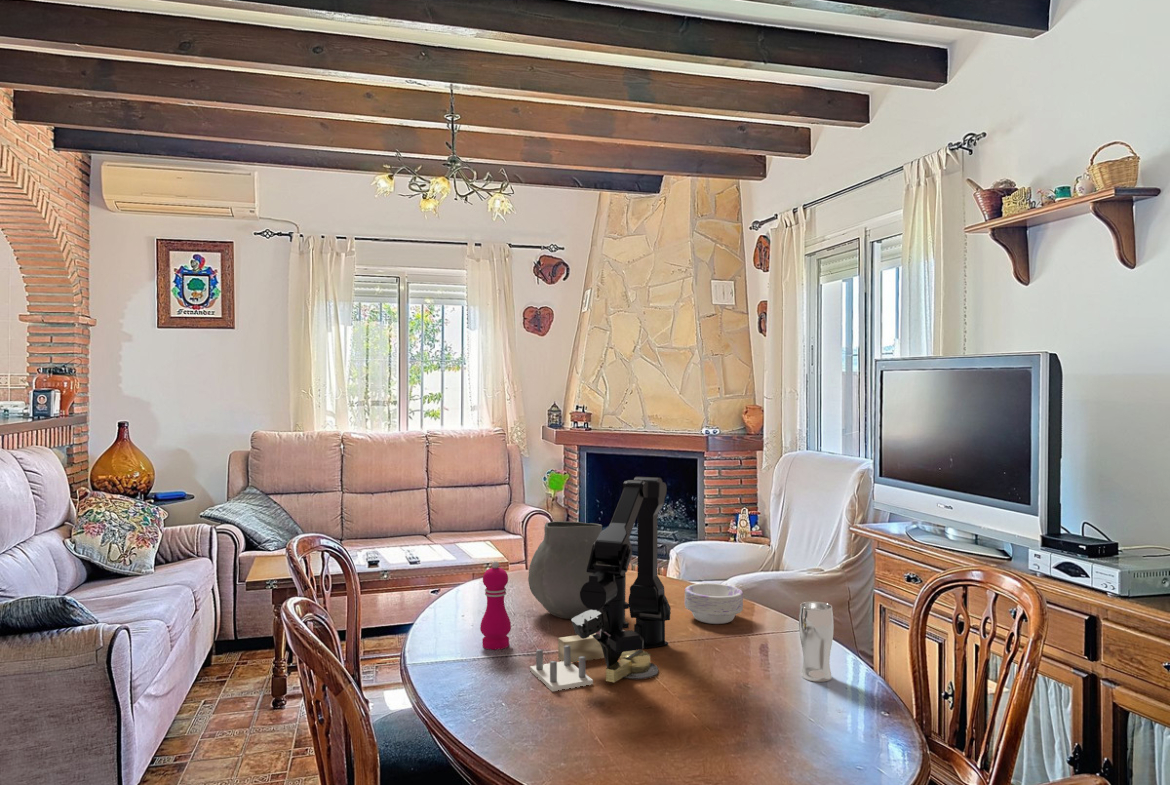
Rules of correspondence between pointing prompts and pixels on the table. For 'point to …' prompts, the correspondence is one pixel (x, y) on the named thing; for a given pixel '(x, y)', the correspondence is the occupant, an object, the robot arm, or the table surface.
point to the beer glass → (816, 640)
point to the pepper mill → (495, 609)
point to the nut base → (643, 673)
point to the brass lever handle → (628, 665)
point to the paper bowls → (713, 602)
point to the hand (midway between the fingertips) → (610, 670)
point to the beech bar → (580, 648)
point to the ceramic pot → (563, 566)
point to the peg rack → (561, 672)
